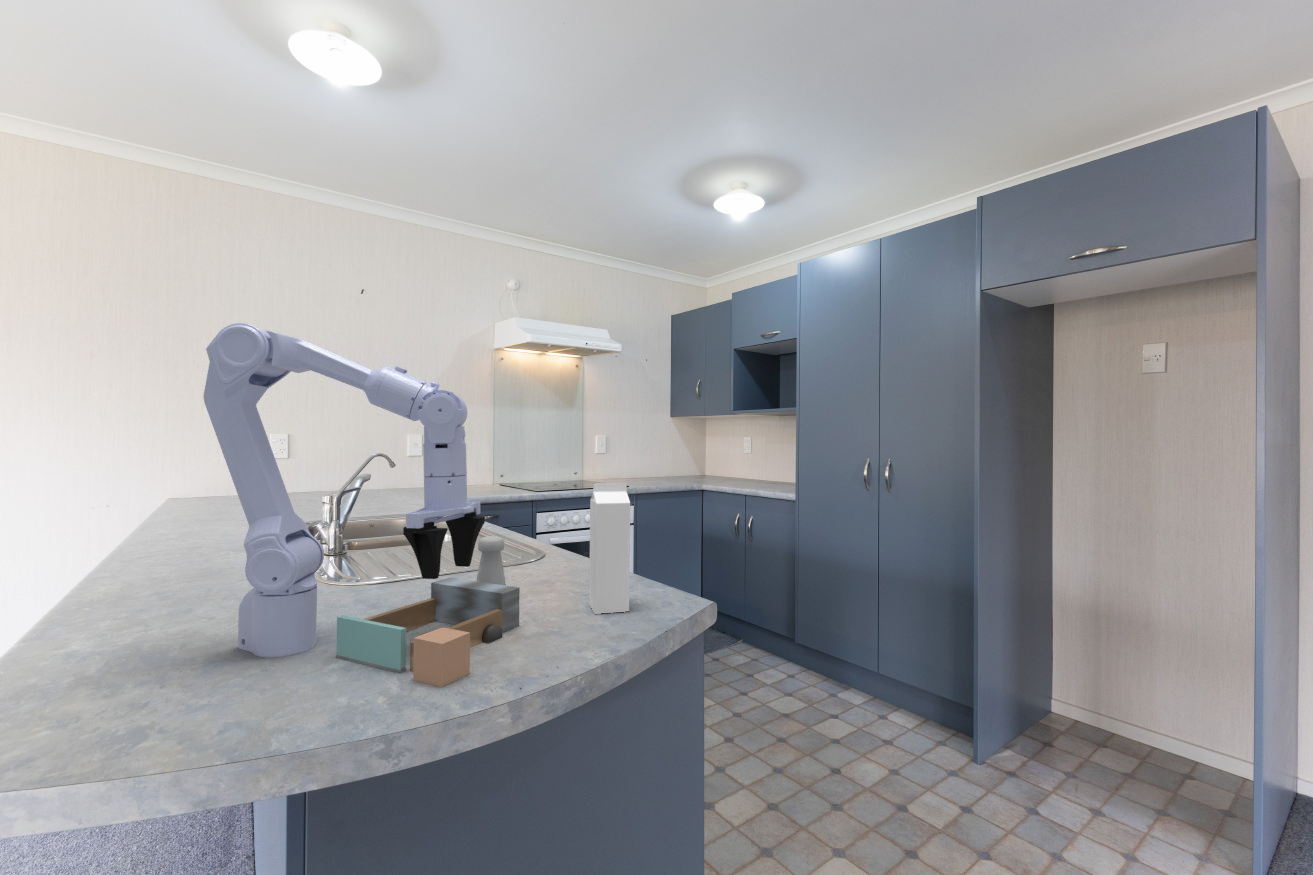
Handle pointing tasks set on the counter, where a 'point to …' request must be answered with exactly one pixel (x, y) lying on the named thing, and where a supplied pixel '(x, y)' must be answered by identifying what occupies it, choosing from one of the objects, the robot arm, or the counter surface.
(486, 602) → the flatbed
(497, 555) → the salt shaker
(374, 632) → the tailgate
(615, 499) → the milk
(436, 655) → the tan rectangular block
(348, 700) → the counter surface
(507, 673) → the counter surface
